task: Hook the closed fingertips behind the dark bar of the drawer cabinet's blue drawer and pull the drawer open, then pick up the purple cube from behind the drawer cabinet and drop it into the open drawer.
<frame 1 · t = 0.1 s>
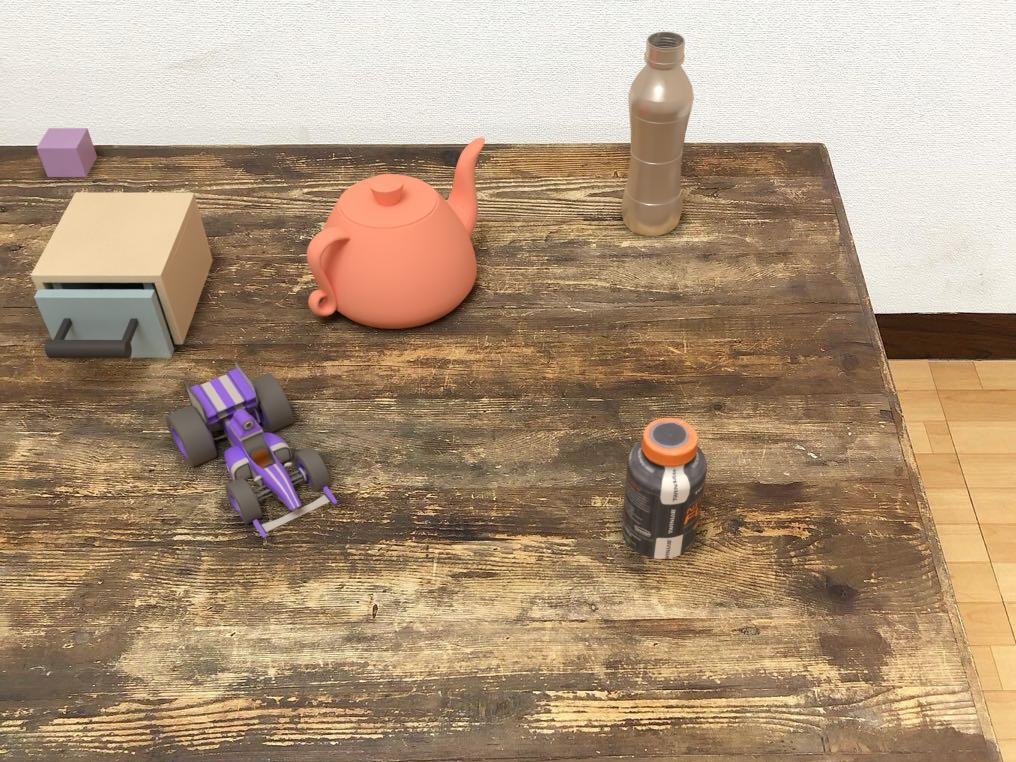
toy race car: (262, 475, 91), on the table
purple cube: (75, 174, 122), on the table
blue drawer: (115, 302, 99), point 4 cm above the table, slide at 0.8 cm
drawer cabinet: (142, 307, 106), on the table
plastic bottle: (649, 230, 115), on the table
pill bottle: (657, 539, 86), on the table
teapot: (407, 291, 108), on the table
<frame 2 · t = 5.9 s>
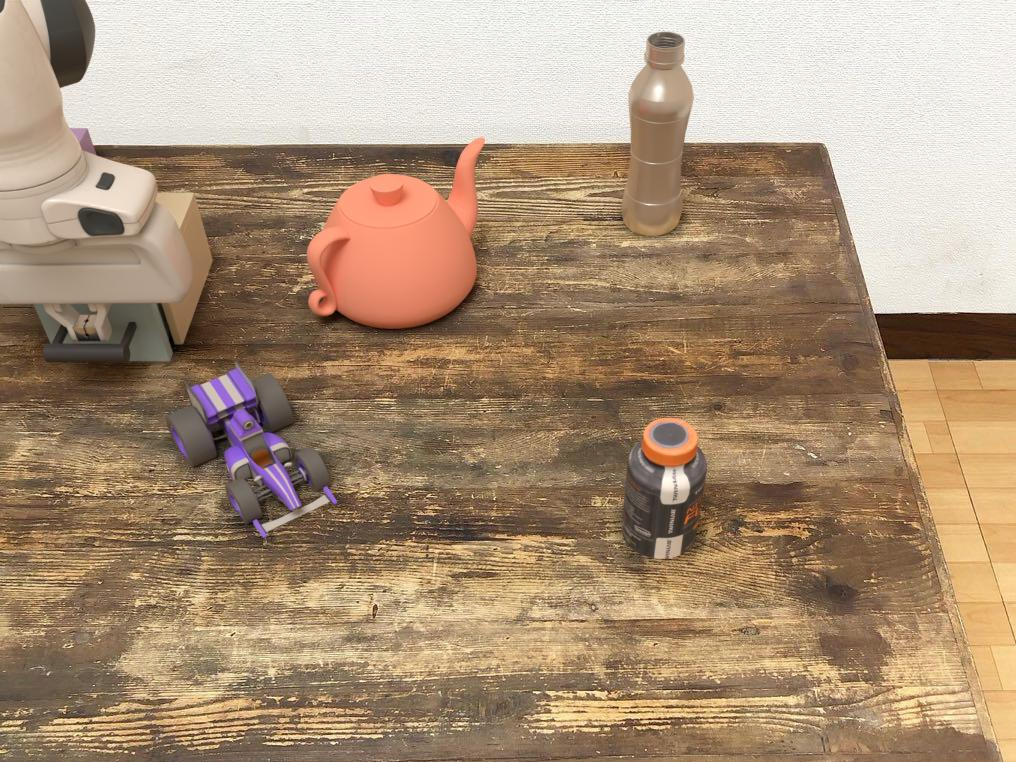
hand: (93, 337, 94), 6 cm above the table, tool pointing down, fingers closed, pressing on blue drawer
blue drawer: (114, 306, 99), point 4 cm above the table, slide at 1.3 cm, touching gripper
everything else where it was.
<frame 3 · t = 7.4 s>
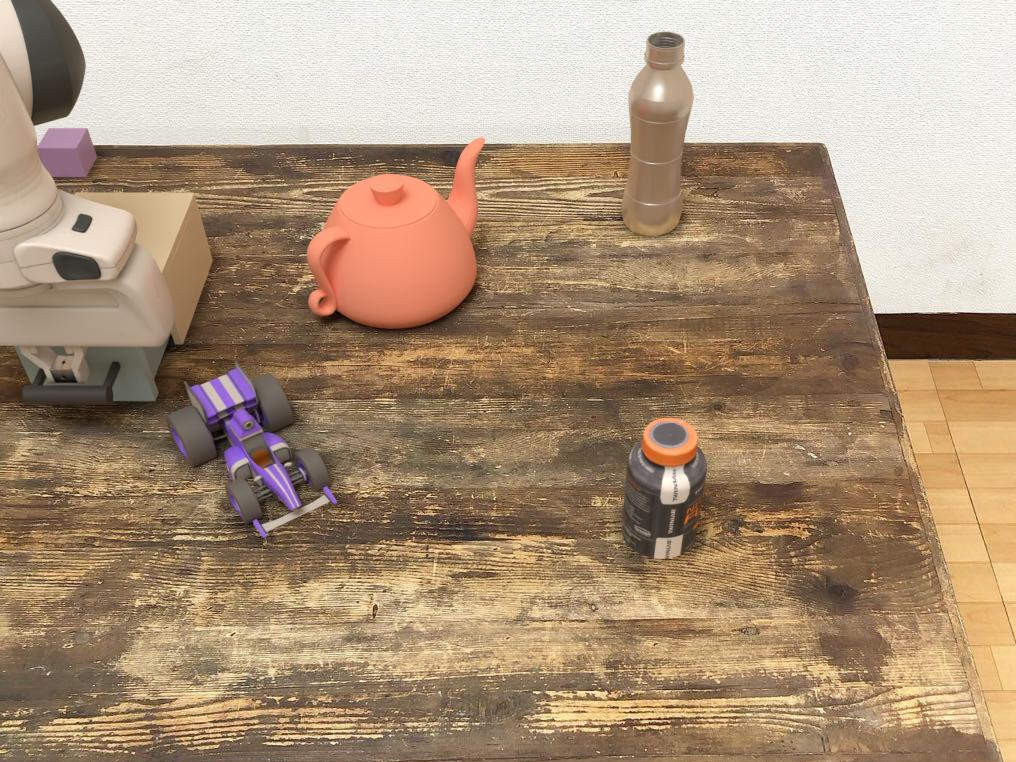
hand: (70, 378, 90), 5 cm above the table, tool pointing down, fingers closed
blue drawer: (97, 343, 95), point 4 cm above the table, slide at 6.8 cm
everything else where it was.
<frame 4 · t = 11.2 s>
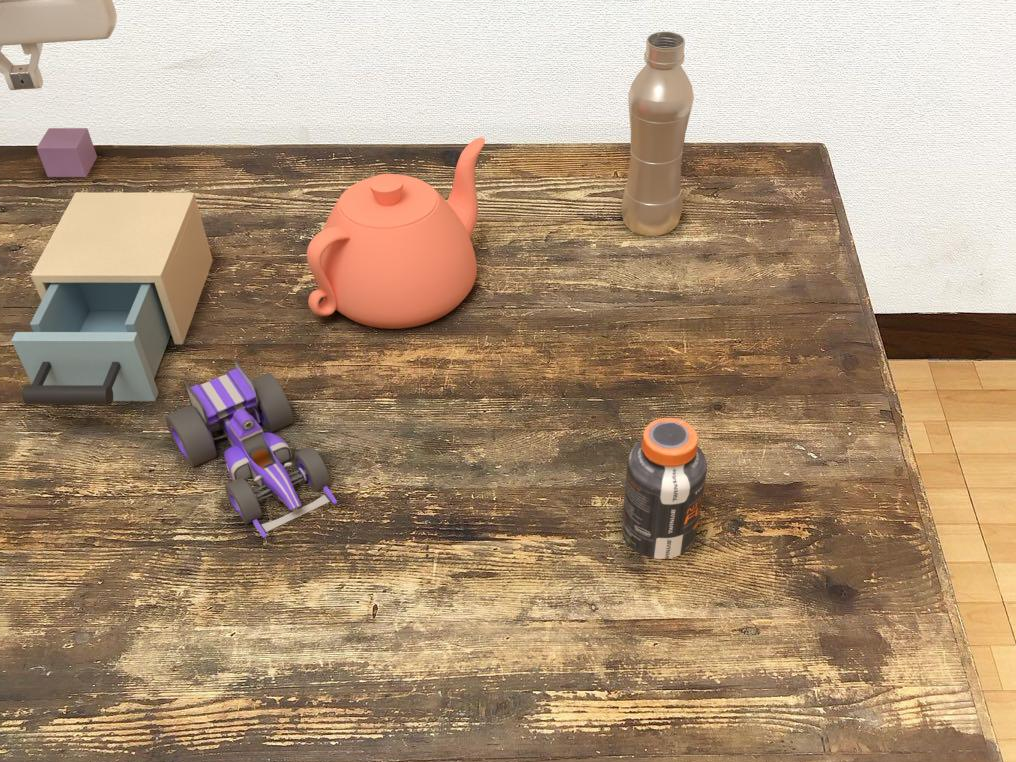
hand: (27, 86, 105), 15 cm above the table, tool pointing down, fingers closed
nothing on the table moved.
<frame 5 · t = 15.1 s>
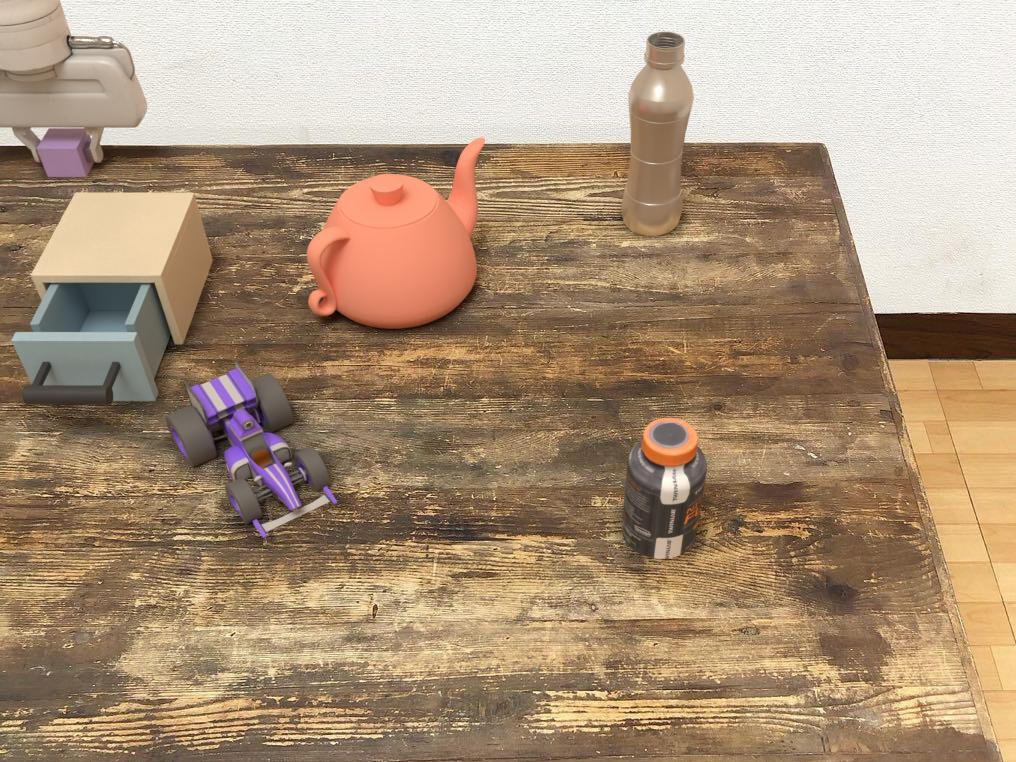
hand: (70, 160, 121), 2 cm above the table, tool pointing down, fingers closed on purple cube, 4 cm apart
purple cube: (75, 174, 122), on the table, touching gripper
everything else where it was.
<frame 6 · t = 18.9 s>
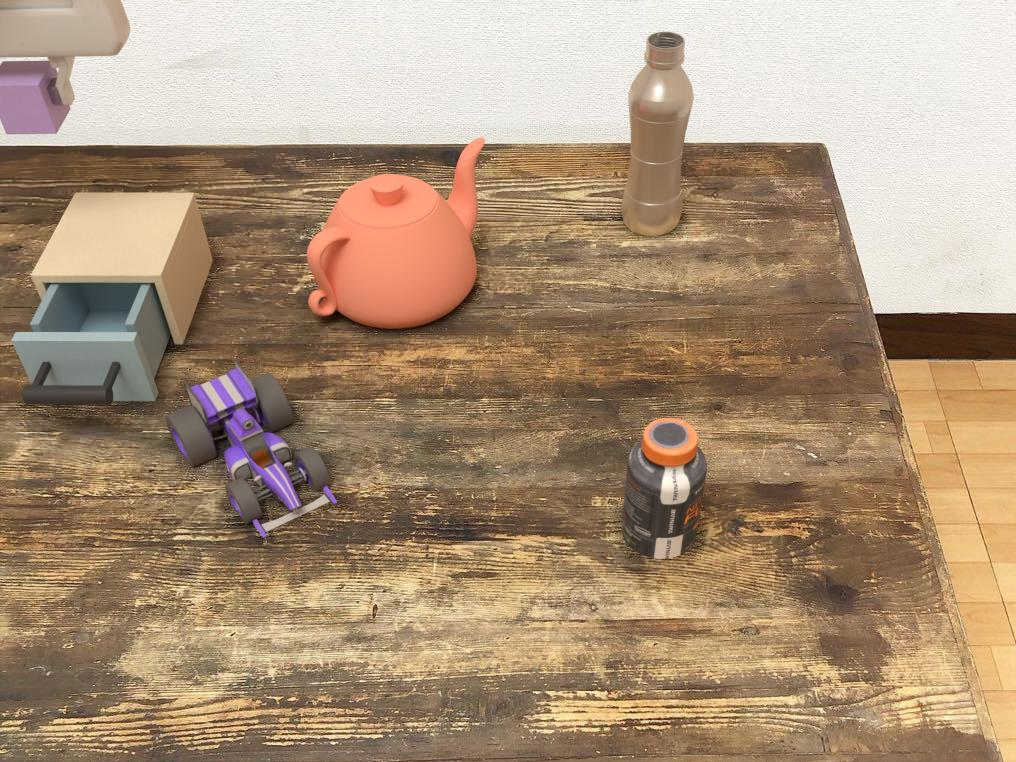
hand: (31, 103, 93), 19 cm above the table, tool pointing down, fingers closed on purple cube, 4 cm apart
purple cube: (39, 121, 94), point 18 cm above the table, touching gripper
everything else where it was.
when the fingers open (9 cm above the table, at t = 23.1 s): purple cube drops 5 cm, resting on blue drawer.
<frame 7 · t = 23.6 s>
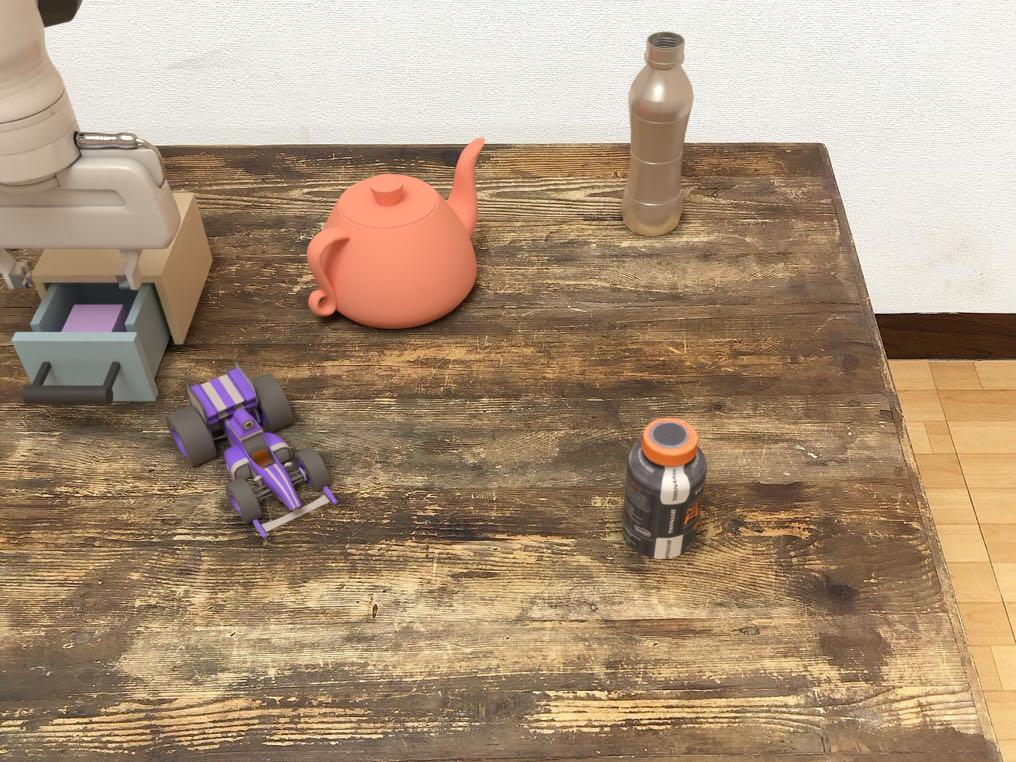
hand: (77, 285, 91), 10 cm above the table, tool pointing down, fingers open, 8 cm apart
purple cube: (107, 358, 97), point 2 cm above the table, touching blue drawer
blue drawer: (97, 343, 95), point 4 cm above the table, slide at 6.8 cm, touching purple cube
everything else where it was.
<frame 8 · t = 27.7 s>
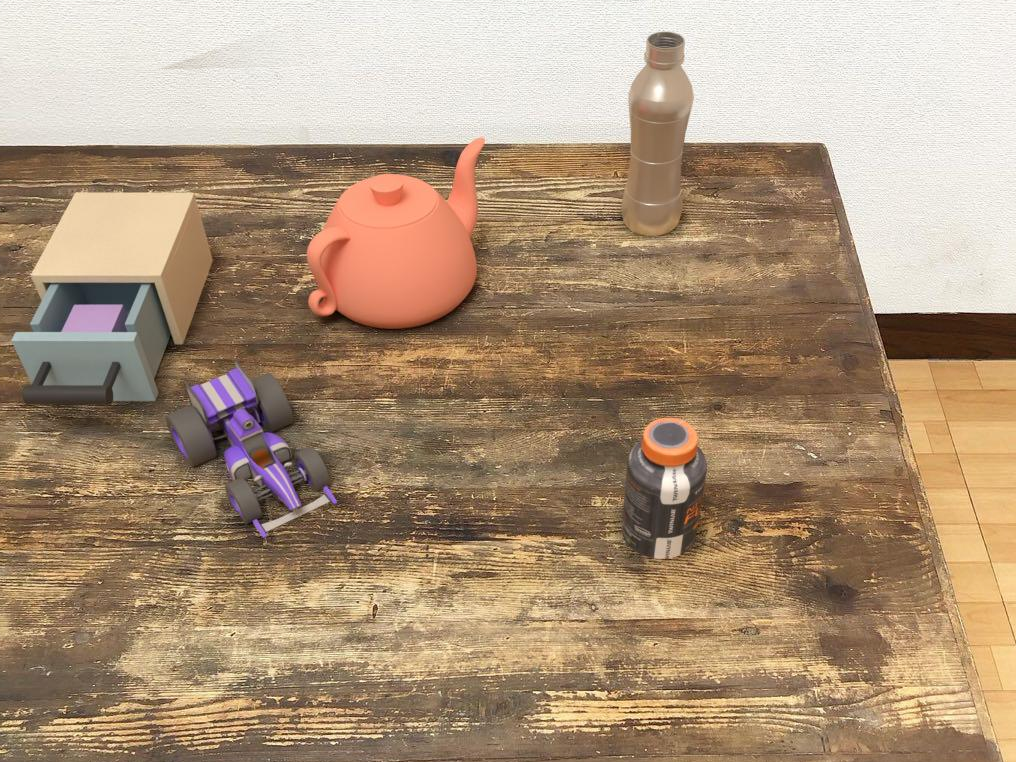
nothing on the table moved.
at the end: blue drawer slide at 6.8 cm; purple cube inside the target area in the blue drawer (5.3 cm from its centre), point 2.0 cm above the drawer cabinet's base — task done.
